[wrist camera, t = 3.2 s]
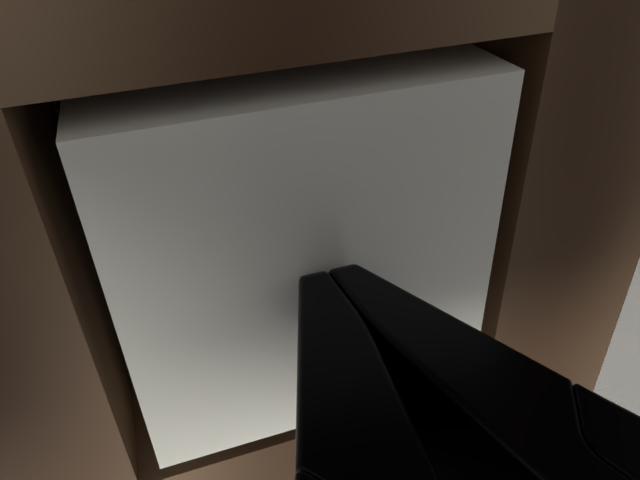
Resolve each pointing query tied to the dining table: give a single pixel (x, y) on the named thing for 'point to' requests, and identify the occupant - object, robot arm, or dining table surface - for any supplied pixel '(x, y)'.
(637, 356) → the dining table surface
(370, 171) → the cream button
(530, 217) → the button panel
